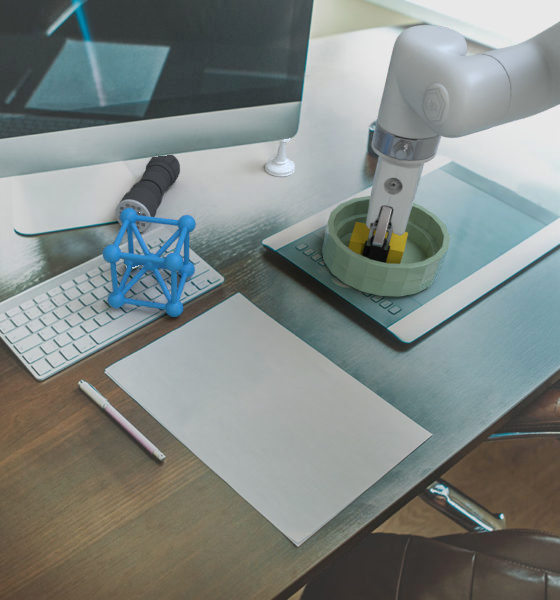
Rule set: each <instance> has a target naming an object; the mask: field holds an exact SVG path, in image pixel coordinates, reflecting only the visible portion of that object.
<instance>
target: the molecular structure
mask: <svg viewBox="0 0 560 600" xmlns="http://www.w3.org/2000/svg"><path fill="white" fill-rule="evenodd" d="M120 220H121V222H122V223H123V224H122V226H121V225H120V228H119V230H118V232H117V235H116V237H115V239H114V241H113V243H112V244H111V243H110V244H108V245H106V246H105V247H104V248H103V249H102V253H101V254H102V259H103V260H104V261H105V262H107V263H108V264H109V268H110V277H111V287H112V291H111V292H110V293H109V294H108V296H107V304H108V303H109V304H108V305H109V306H110V305H111V306H112V307H114V308H113V309H120V308H119V307H121V306H122V307H123V306H124V305H125V304H126V305H132V306H139V307H145V308H151V309H159V310H165V313H166V314H167V315H168V316H169V317H171V318H178V317H180V316H181V315H182V314H183V312H184V304H183V302H182V301H181V298H182V294H183V291H184V289H185V288H184V287H185V284H186V281H187V279H188V278H187V277H189V278H191V277H193V276H194V274H195V273H196V267H195V266H196V265H194V263H193V262H191V261H190V233H192V232H193V231H194V230H195V228H196V225H197V222H196V220H195V218H194V217H193V216H192V215H189V214H184V215H181V216H180V217H179V219H173V218H164V217H156V216H155V217H149V216H141V215H137V213H136V211H135V210H134V209H132V208H125V209H124V210H122V212H121V213H120ZM136 221H143V222H151V223H152V224H160V225H168V226H176V227H177V228H178V229H177V230H176V231H175V232H173V234H172V235H171V236H170V237H169V238H168V239H167V241H166V242H164V243H163V245H162V246H161V247H160V248H159V249H158V250H157V251H155V253H153V252H150V250H149V248H148V246H147V245H146V242H145V240H144V238H143V236H142V234H141V232H139V230H138V228H137V226H136V224H135V223H136ZM151 223H150V224H151ZM125 233H126V236H127V251H128V252H125V251H124V252H122V250H121V248H120V244H121V242H122V240H123V238H124V235H125ZM134 237H135V238H136V241H137V243H138V245H139V247H140V248H141V251H142V253H143V254H139V253H135V248H134V247H135V246H134ZM176 240H177V242H176V245H175V248H174V251H173V252H170V253H169V252H168V253H167V255H166V256H165V257H162V255H164V253H165V252H166V251H167V250H168V249H169V248H170V247H171V246H172V245H173V244H174V243H175V241H176ZM182 249H183V257H182V255H181V251H182ZM120 260H123V265H124V264H126V265H127V268H126V267H125V271H124V273H123V275H122V278H121V280H120V283H119V281H118V271H117V270H118V269H117V263H118V262H119V261H120ZM138 265H143V266H141V269H139V270H138V272H137V273H136V274H135V275H134V276H133V277H132V278H131V279H130V280H129V277H130V275H131V273H132V270H131V269H132V267H135V266H138ZM159 269H160V270H167V271H168V272H170V290H169V288H168V286H167V284H166V282H165V281H164V278H163V276H162V274H161V272H160V270H159ZM148 271H149V272H152V273H153V275H154V277H155V279H156V281H157V283H158V285H159V287H160V290H161V291H162V293H163V295H164V297H165V299H166V303H161V302H155V301H148V300H142V299H135V298H128V297H126V294H127V293H128V292H129V291H130V290H131V289H132V288H133V287H134V286H135V284H137V282H138V281H139V280H140V279H141V278H142V277H143V276H144V275H145V274H146V273H147V272H148ZM130 272H131V273H130ZM178 274H179V276H180V275H181V276H180V280H179V282H178ZM127 279H128V280H129V282H128V280H127ZM111 306H110V307H111ZM112 307H111V308H112ZM122 307H121V308H122Z"/></svg>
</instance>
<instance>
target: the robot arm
mask: <svg viewBox="0 0 560 600" xmlns="http://www.w3.org/2000/svg"><path fill="white" fill-rule="evenodd" d="M467 53H468V42H467V40H466V39H465V37H464V36H463V35H462V34H461V33H460V32H459V31H456V30H455V29H452V28H449V27H446V26H443V25H436V24H421V25H420V24H419V25H414V26H410V27H408V28H406V29H405V30H404V29H403V30H402V32H400V33H399V35H398V36H397V37H396V38H395V41H394V44H393V47H392V51H391V55H390V60H389V64H388V69H387V73H386V77H385V82H384V85H383V86H384V87H383V91H382V96H381V99H380V103H379V109H378V113H377V116H376V117H377V118H376V121H375V126H374V130H373V134H372V140H371V144H370V145H371V149H372V151H373V152H374V153H375V154H376V155H377V156H378V158H377V162H376V166H375V172H374V176H373V181H372V186H371V190H370V195H369V196H370V202H369V208H368V214H367V221H366V226H367V227H368V228H369V229H370V227H371V229H370V233H369V237H368V240H367V241H365V245H364V249H363V253H362V256H364V257H366V258H368V259H371V260H375V261H379V262H384V263H386V260H387V257H388V253H389V250H390V246H389V243H390V239H391V236H392V232H394V234H397V235H400V236H401V235H403V234H404V233H405V230H406V226H407V223H408V219H409V216H410V212H411V209H412V206H413V203H415V202H414V201H415V199H416V195H417V192H418V188H419V185H420V181H421V177H422V175H423V170H424V166H425V163H428V162H430V161H432V160H433V159H434V158H435V157H436V155H437V153H438V148H439V145H440V142H441V139H442V137H443V138H448V139H456V138H457V139H458V138H462V137H466V136H469V135H473V134H477V133H479V132H483V131H486V130H490V129H492V128H494V127H495V128H496V127H498V126H503V125H505V124H508V123H512V122H517V121H519V120H524V119H526V118H530V117H532V116H536V115H538V114H541V113H543V112H545V111H548V110H550V109H552V108H555V107H557V106H559V105H560V21H558V22H556V23H555V24H553V25H552V26H549V27H548V28H545V30H542V31H541V32H539V33H537V34H536V35H534V36H532V37H530V38H529V39H526V40H524V41H522V42H520V43H516V44H513V45H510V46H505V47H501V48H496V49H493V50H488V51H485V52H480V53H476V54H470V55H467ZM374 230H376V233H375V236H374V235H373V234H374ZM386 232H388V234H387V238H385V234H386Z"/></svg>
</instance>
